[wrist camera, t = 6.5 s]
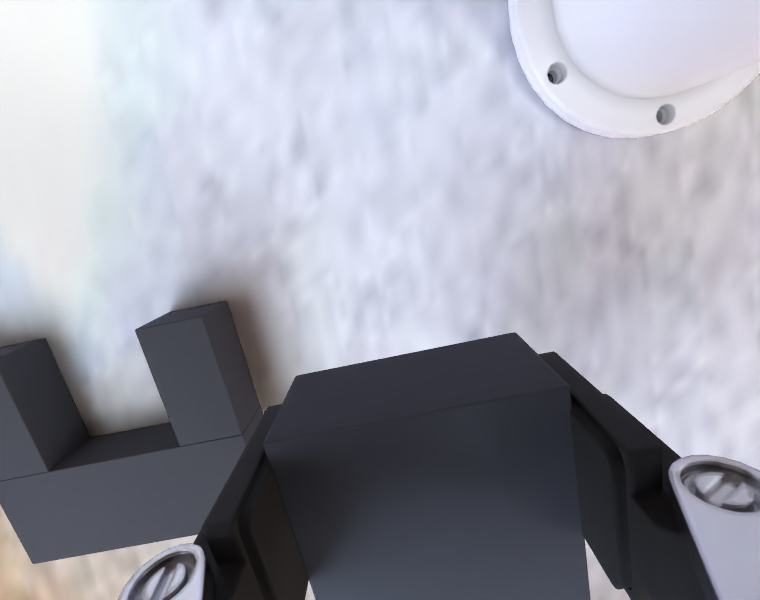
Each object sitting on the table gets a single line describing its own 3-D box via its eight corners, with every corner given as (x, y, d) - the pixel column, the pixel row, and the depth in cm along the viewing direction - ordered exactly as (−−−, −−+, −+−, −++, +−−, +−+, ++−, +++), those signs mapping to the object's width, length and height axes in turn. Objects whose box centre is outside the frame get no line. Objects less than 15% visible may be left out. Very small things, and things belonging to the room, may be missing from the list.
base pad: (-11, 349, 21) (-72, 372, 18) (227, 300, 21) (202, 315, 18) (73, 521, 24) (32, 564, 21) (285, 482, 24) (271, 521, 21)
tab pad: (294, 375, 10) (260, 444, 7) (515, 330, 10) (571, 385, 7) (374, 640, 13) (372, 769, 10) (552, 612, 12) (604, 737, 10)
